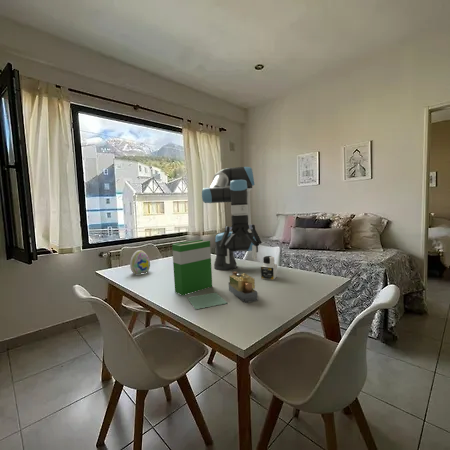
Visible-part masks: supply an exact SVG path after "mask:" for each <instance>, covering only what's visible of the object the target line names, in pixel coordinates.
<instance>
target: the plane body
mask: <svg viewBox="0 0 450 450" xmlns="http://www.w3.org/2000/svg"><path fill="white" fill-rule="evenodd" d="M231 274H232V275H235V276H237V277H239V276H241V274H242V273H238V271H232V273H231ZM228 291H230V293H231V294H233V295H234V296H236V297H237V298H238V299H239V300H241V301H242V302H243V303H244V304H246V303H252V302H257V301H258V291H257V290H256V289H252V283H250V282H248V283H245V290H244V291H237V290H236V289H235V288H233V287H232V286H231V285H230V281H229V282H228Z"/></svg>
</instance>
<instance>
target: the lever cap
mask: <svg viewBox="0 0 450 450" xmlns="http://www.w3.org/2000/svg"><path fill="white" fill-rule="evenodd" d="M240 274H241V276H239V277H237V276H235V275H229V282H230V285H231V286H232V287H233V288H235V289H236V290H237V291H244V290H245V283H248V282H250V283H252V289H254V290H256V289H255V286H256V285H255V278H254V277H252V276H250V275H248V274H247V273H245V272H244V273H240Z"/></svg>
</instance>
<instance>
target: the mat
mask: <svg viewBox="0 0 450 450" xmlns="http://www.w3.org/2000/svg"><path fill="white" fill-rule="evenodd" d="M187 299H189V300H188V301H189V303H190V302H191V303H190V304H191V305H193V306H194V307H193V306H192V307H193V309H194V308H195V309H198V310H201V309H200V308H203V309H206V308H205V307H208V308H212V307H211V306H213V307H217V306H216V305H218V306H222V304H223V305H227V304H228V302H227V301H226V300H225V299H224V298H223V297H222V296H221V295H219V294H218V292H212V293H205V294H201V295H199V294H198V295H195V296H189V297H187ZM195 309H194V310H195Z"/></svg>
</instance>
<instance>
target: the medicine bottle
mask: <svg viewBox="0 0 450 450" xmlns="http://www.w3.org/2000/svg"><path fill="white" fill-rule="evenodd" d="M262 259H263V260H262V261H263V265H261V266H260V276H261V277H260V278H261V280H262V279H263V280H270V281H273V280H274V281H275V279H276V278H277V277H278V264H276V263H275V257H274V256H272V255H266V256H265V255H264V257H263V258H262Z"/></svg>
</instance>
